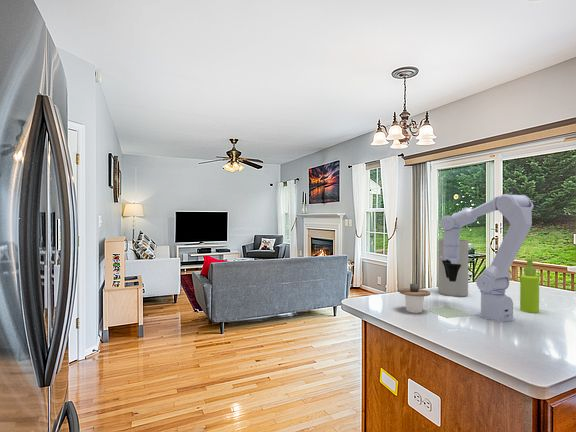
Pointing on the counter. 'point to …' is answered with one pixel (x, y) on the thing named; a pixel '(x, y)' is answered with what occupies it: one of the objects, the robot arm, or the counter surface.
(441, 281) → the cylinder vase
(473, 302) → the counter surface
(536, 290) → the soap dispenser
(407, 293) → the walnut lid
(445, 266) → the robot arm
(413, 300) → the white cup
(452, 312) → the sage mat
